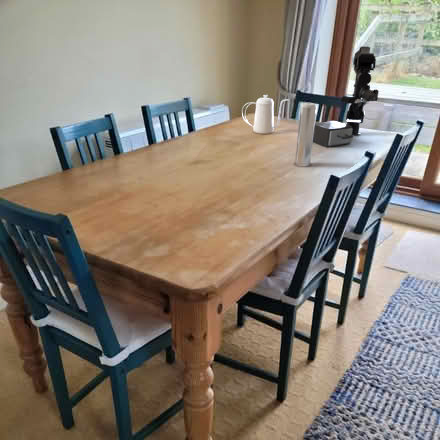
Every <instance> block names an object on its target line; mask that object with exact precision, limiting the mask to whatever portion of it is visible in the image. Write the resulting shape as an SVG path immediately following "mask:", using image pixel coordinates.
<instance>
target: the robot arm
mask: <svg viewBox="0 0 440 440" xmlns="http://www.w3.org/2000/svg"><path fill="white" fill-rule="evenodd" d="M352 60H353V62H352V65H353V71H354V74H355V80H354V84H353V93H352V95H350V94H346V95H342V97H341V98H340V99H341V100H340V101H341V103H345V104H349V106H348V109H347V111H346V114H345V124H347V125H350V126H352V129H353V130H352V135H353V136H359V135H361V133H359V132H360V124H364V119H365V111H364V107H365V106H366V105H367V104H369V102H377V101H378V100H379V99H378V98H379V92H380V91H379V90H378V89H371V85H370V83H371V81H372V75H371V71H374V70H375V69H376V65H377V58H376V55H375V53H374V52H371V47H370V46H359V49H358V50H357V51H356V52H355V53H354V56H353V59H352Z"/></svg>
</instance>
